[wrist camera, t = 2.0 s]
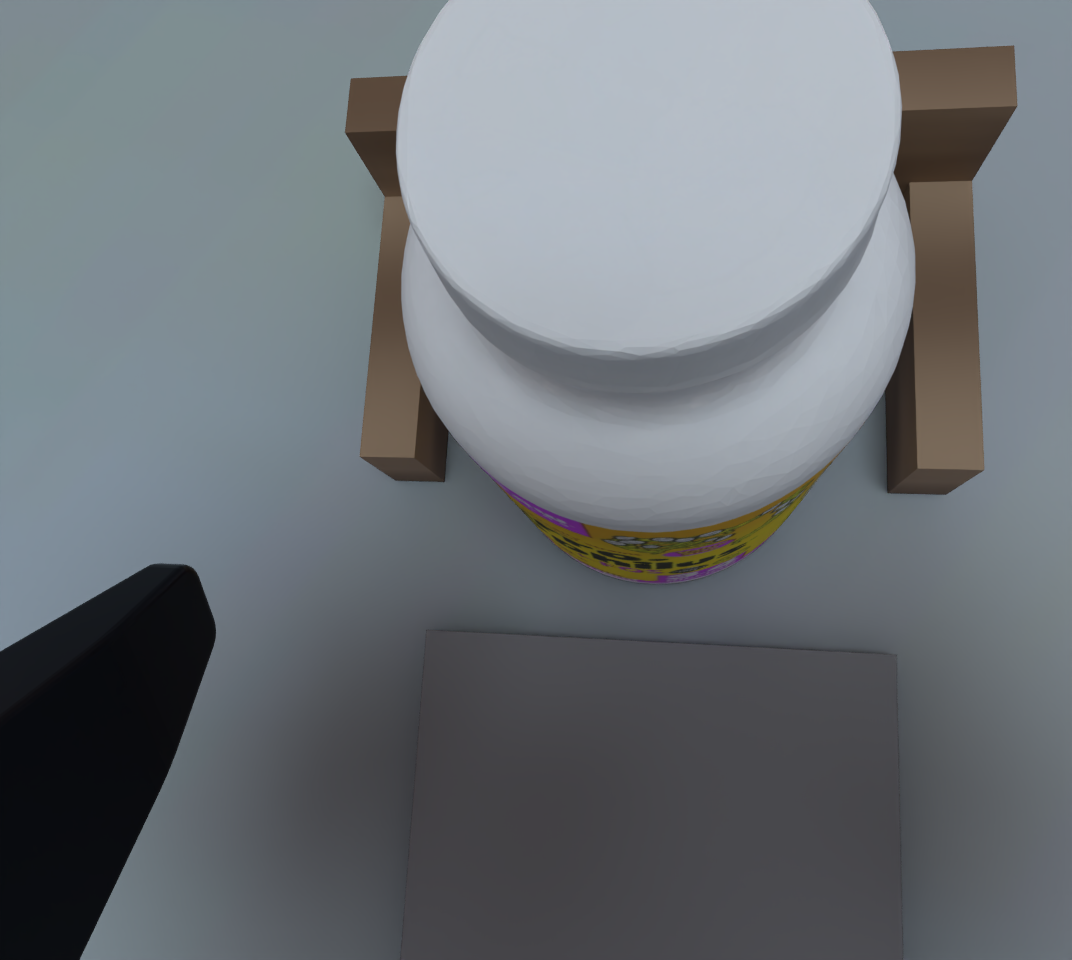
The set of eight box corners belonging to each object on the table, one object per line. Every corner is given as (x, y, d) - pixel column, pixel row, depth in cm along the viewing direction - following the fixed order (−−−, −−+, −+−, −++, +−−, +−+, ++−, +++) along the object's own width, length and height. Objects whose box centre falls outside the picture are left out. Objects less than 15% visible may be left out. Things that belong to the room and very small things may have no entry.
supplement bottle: (473, 529, 21) (174, 327, 8) (574, 275, 22) (438, -245, 9) (752, 634, 19) (887, 575, 7) (848, 358, 20) (1119, -129, 8)
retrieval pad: (902, 1192, 17) (909, 1208, 16) (394, 1119, 19) (386, 1131, 18) (890, 655, 19) (896, 654, 18) (432, 630, 20) (426, 629, 20)
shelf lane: (945, 494, 19) (1035, 437, 15) (395, 480, 21) (313, 425, 17) (935, 189, 21) (1014, 45, 16) (420, 203, 23) (350, 78, 18)
